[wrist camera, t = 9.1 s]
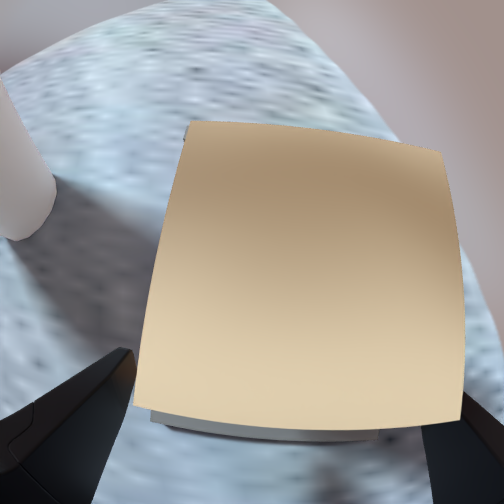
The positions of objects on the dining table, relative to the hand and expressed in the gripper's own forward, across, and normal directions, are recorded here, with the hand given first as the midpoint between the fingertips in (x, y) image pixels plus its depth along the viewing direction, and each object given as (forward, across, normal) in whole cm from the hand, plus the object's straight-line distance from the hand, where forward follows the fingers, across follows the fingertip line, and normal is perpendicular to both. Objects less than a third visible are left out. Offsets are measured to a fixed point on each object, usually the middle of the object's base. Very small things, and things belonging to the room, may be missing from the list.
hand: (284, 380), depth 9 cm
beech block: (+6, 0, +4) cm, 7 cm away
